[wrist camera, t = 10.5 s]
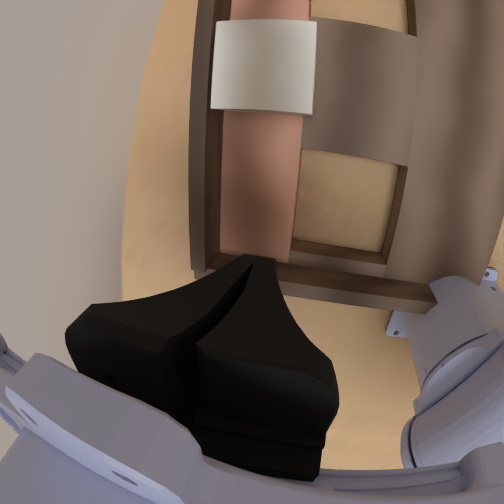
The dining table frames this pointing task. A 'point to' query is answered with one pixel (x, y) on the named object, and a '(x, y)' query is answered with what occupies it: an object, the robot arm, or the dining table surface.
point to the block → (265, 66)
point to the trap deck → (360, 152)
